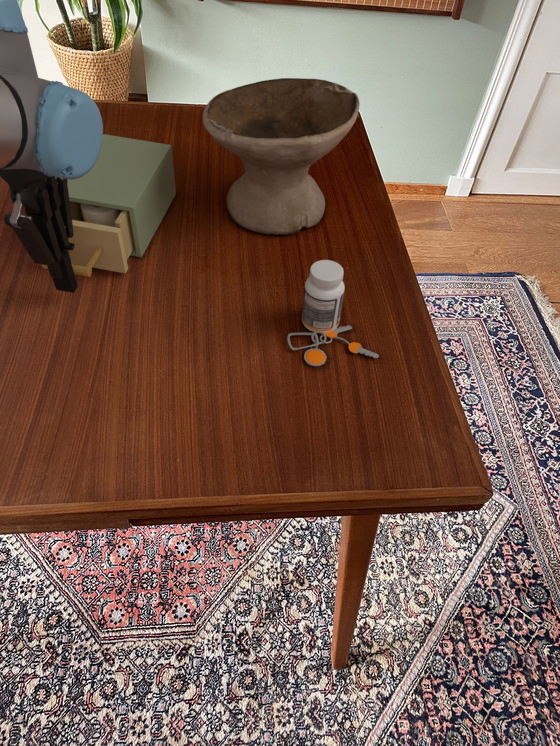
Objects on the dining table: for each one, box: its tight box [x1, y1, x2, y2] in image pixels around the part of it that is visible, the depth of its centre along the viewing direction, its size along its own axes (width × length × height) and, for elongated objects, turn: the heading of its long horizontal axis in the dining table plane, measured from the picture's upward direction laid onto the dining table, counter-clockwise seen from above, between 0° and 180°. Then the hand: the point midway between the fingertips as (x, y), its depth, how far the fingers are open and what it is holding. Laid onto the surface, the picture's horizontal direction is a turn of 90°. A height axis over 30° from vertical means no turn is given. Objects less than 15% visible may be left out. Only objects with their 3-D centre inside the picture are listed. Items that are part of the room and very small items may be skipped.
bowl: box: [202, 77, 361, 236], centre depth 97 cm, size 26×25×20 cm
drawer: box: [41, 201, 135, 278], centre depth 91 cm, size 24×12×8 cm, turn 169°
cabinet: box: [57, 133, 177, 258], centre depth 97 cm, size 19×14×10 cm
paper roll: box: [81, 203, 120, 227], centre depth 92 cm, size 6×6×6 cm
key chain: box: [286, 324, 380, 367], centre depth 84 cm, size 13×7×1 cm, turn 99°
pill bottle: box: [301, 259, 346, 333], centre depth 83 cm, size 6×6×10 cm
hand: (67, 287), depth 85 cm, fingers closed
